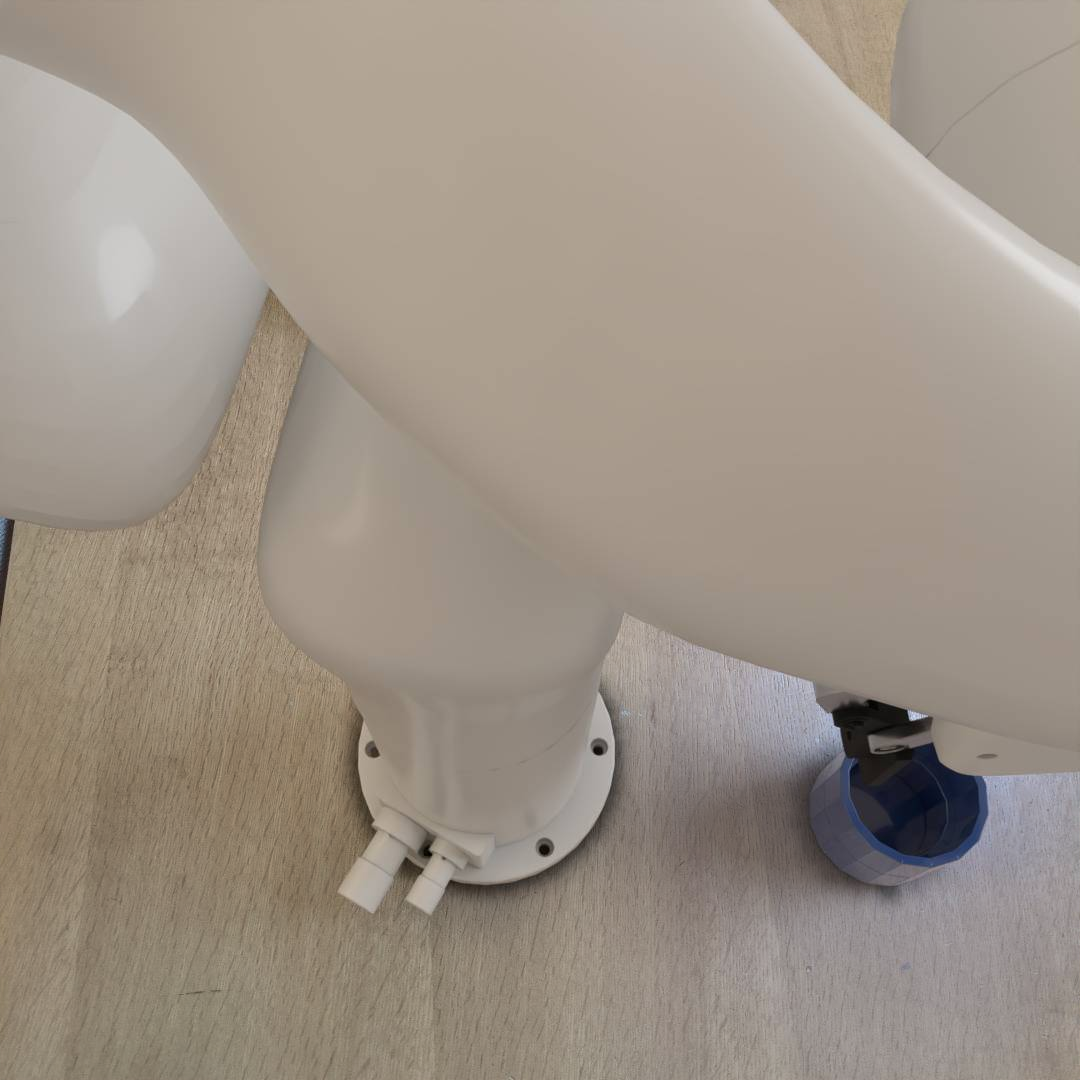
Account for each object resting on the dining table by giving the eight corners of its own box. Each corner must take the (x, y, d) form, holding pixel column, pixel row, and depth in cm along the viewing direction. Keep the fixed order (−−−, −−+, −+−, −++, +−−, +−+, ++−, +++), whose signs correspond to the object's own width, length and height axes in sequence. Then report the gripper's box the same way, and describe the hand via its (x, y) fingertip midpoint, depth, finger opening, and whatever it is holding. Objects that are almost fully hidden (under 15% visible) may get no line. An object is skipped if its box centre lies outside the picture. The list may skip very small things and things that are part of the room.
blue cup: (911, 912, 48) (960, 895, 43) (786, 844, 50) (818, 819, 44) (956, 793, 51) (1007, 763, 46) (835, 731, 52) (871, 694, 47)
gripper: (948, 710, 21) (778, 855, 37) (1755, 664, 22) (1254, 826, 37) (874, 408, 25) (746, 656, 40) (1575, 373, 25) (1183, 631, 40)
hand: (991, 737), depth 39 cm, fingers open, 9 cm apart
